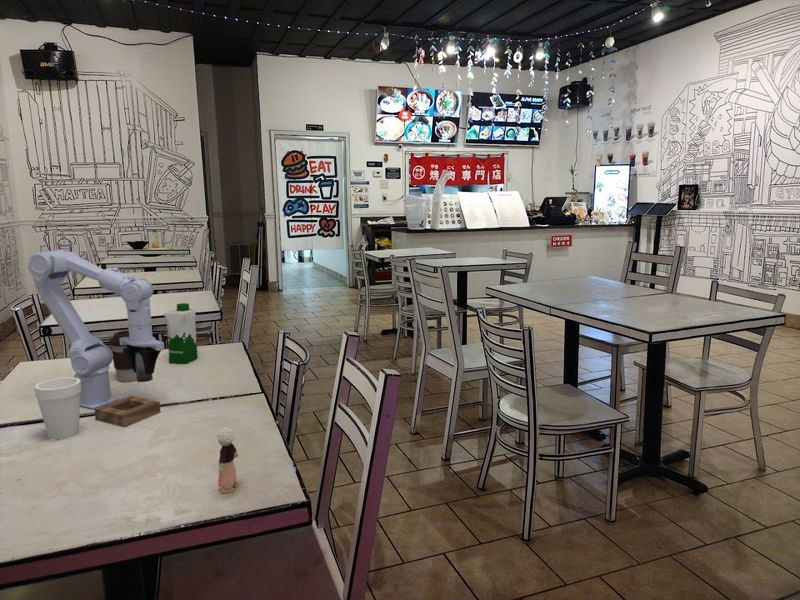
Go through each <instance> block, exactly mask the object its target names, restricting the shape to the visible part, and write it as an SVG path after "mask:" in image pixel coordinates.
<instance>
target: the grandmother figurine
mask: <svg viewBox="0 0 800 600" xmlns="http://www.w3.org/2000/svg"><path fill="white" fill-rule="evenodd" d="M216 436H217V440H218V444H219V445H220V446H221V448H220V451H219V460H218V468H217V469H218V471H217V472H218V477H217V487H218V488H220V487H221V488H220V490H219V492H220V494H232V493H234V492H235V488H237V487H238V486H239V483H238V481H237V471H236V470H237V469H236V466H235V463H234V462H235V461H234V460H235V458H238V456H239V453H238V451H237V448H236V446H235V445H234V444H233V443H232V442H234V441H235V439H236V434H235V433H234V430H233V429H231V428H229V427H221V428H220V429H219V431H218V432H217V434H216Z"/></svg>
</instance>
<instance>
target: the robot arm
mask: <svg viewBox="0 0 800 600" xmlns="http://www.w3.org/2000/svg"><path fill="white" fill-rule="evenodd" d="M26 267H27V270H28V271H29V273H30V274H31V276H32V278H33V281H34V285H35V288H36V291H37V293H38V294H39V296H40V298H41V300H42V301H43V302H44V304H45V306H46V307H47V309H48V310H49V312H50V313H51V315H52V317H53V318H54V320H55V322H56V323H57V324H58V327H59V328H60V330H61V331H62V333H63V334H64V336H65V338H66V340H67V341H68V343H69V345H70V348H69V351H68V353H67V356H68V357H69V359H70V362H71V368H72V370H73V371H74V372H75V374H74V375H73V378H78V379H80V380H81V393H80V407H84V408H88V409H91V410H92V409H93V410H95V409H96V408H98V407H101V406H104V405H107V404H110V403H112V402H115V401H118V400H119V398H118V397H113V396H112V395H111V387H110V386H111V384H110V374H109V369H110V364H111V363H112V362H113V354H112V349H111V348H110V347H108V346H107V345H105V344H104V343H103V341H102V340H101V339H100V338H98V337H96V336H94V335H92V334H91V333H90V331H89V329H88V328H87V326H86V325H85V323H84V321H83V319H82V318H81V316H80V315H79V313H78V312H77V310H76V308H75V307H74V305H73V303H72V302H71V300H70V299H69V297H68V295H67V294H66V292H65V290H64V289H63V288H62V285H63V283H64V280H66V278H67V277H68V275H69V274H70V272H74V273H76V274H78V275H81V276H84V277H86V278H89V279H91V280H95V281H97V282H98V285H99V287H100V288H103V289H105V290H107V291H109V292H111V293H113V294H116V295H117V296H118V295H119V296H120V297H121V299H122V300H123V302H124V305H125V308H126V311H127V312H126V314H127V315H126V316H127V326H128V331H129V337H123V338H120V345H127V348H124V349H123V352H124V353H125V354H126V356H127V357H128V359H129V361H130V363H131V365H132V368H133V371H134V373H136V364H135V352H136V351H139V350H141V351H139V353H140V355H141V356H142V359H143V362H144V367H145V373H146V375H150V374H152V375H153V374H154V373H155V368H156V363H157V360H158V357H159V355H160V353H161V352H162V351H163V350H165V342H164V341H159V340H157V339H156V337H155V336H153V327H152V313H151V301H150V300H151V299H150V298H151V297H153V294H154V287H153V284H152V283H151V282H150V281H149V280H148V279H146V278H143V277H142V278H137V279H136V278H135V275H129V274H126V273H124V272H121V271H120V269H119V268H117V267H107V268H105V269H103V268H102V267H100V266H98V265H96V264H94V263H92V262H90V261H88V260H87V259H84V258H83V257H80V256H78V255H77V254H76V253H75V252H73V251H69V250H67V249H65V248H60V249H56V250H48V251H37V252H34V253H33V254H31V256H30V258H29V261H28V265H27V266H26Z"/></svg>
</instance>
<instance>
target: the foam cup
mask: <svg viewBox="0 0 800 600" xmlns="http://www.w3.org/2000/svg"><path fill="white" fill-rule="evenodd" d="M73 377H74V376H73ZM73 377H72V376H71V377H57V378H51V379H47V380H43V381H40V382H39V383H37V384H36V385H34V394H35V398H36V399H37V403H38V406H39V410H40V413H41V417H42V420H43V424H44V427H45V431H46V434H47V436H48V437H49V438H50V439H49V438H48V439H49V440H51V439H54V440H53V441H57V440H56V439H62V440H66V439H65V438H68V439H70V438H72V436H73V437H75V436H77V435H78V434H79V429H80V411H81V410H80V409H81V406H80V393H81V380H80V379H78V378H73ZM76 434H77V435H76ZM69 437H70V438H69Z"/></svg>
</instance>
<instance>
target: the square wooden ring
mask: <svg viewBox="0 0 800 600" xmlns="http://www.w3.org/2000/svg"><path fill="white" fill-rule="evenodd" d="M160 403H161V402H160V401H157V400H152V399H147V398H145V397H143V398H142V397H137V396H134V395H129V396H127V397H123V398H121V399H118V400H117V401H114V402H111V403H109V404H106V405H103V406H100V407H98V408H95V409H94V415H95V417H94V418H95V420H96V421H99V422H103V423H107V424H110V425H114V426H117V427H118V426H120V427H122V426H123V428H127V427H129V426H131V425H134V424H136V423H139V422H142V421H144V420H145V419H149V418H150V417H151V418H152V417H153V416H155V415H158V414H160V413H161V404H160ZM143 419H144V420H143Z"/></svg>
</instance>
